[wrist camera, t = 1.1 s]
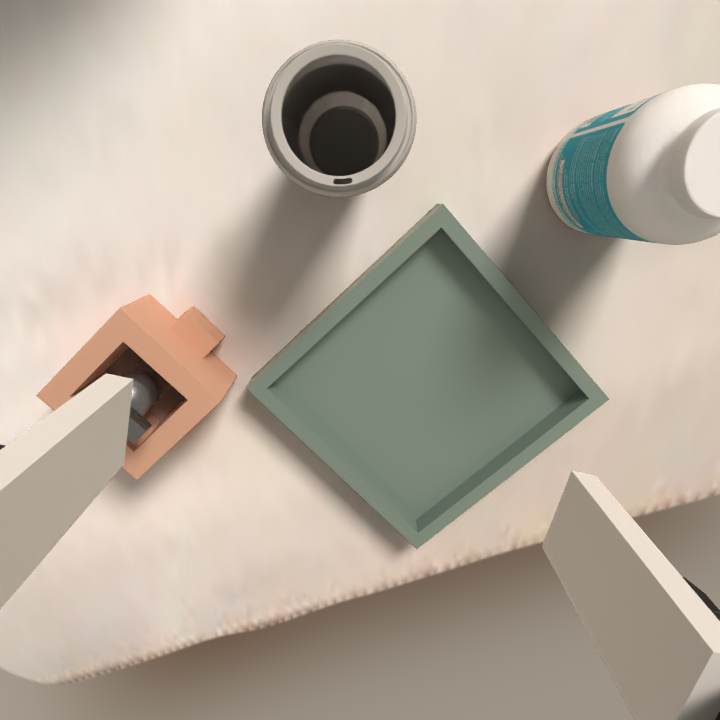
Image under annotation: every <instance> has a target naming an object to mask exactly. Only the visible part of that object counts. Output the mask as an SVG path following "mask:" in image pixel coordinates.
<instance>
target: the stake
mask: <svg viewBox="0 0 720 720" xmlns="http://www.w3.org/2000/svg"><path fill="white" fill-rule="evenodd" d="M121 377H126V378H131V379H133V388H132V397H131V406H130V415H129V424H128V433H127V439H129V440H130V441H131V442H132V443H133V444H134V443H135V442H136V441H137V440H138V439H139V438H140V437H141V436H142V435H143V434H144V433H145V432H146V431H147V430H148V429H149V428H150V427H151V426H152V424H151V423H150V422H149V421H147V420H146V419H145V418H144V417H143V415H144V414H145V413H146V412H147V411H148V410H149V409H150V408H151V407H152V406H153V405H154V404H155V403H156V402H157V401H158V400H159V399H160V398H161V397H162V396H163V395H164V394H165V393H166V391H167V390H168V389H169V388H170V387H171V386H172V385H171V384H170V383H169V382H167V381H166V380H165V379H164V378H163V377H162V376H161V375H160V374H159V373H157V372H156V371H155V370H154V369H153V368H152V367H151V366H150V365H149V364H147V363H146V362H145V361H144V360H142V361H141V362H139V363H138V364H137V365H135V366H134V367H133V368H131V369H130V370H129V371H127V372H126V373H125V374H123V375H122V376H121Z"/></svg>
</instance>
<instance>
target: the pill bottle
mask: <svg viewBox="0 0 720 720" xmlns="http://www.w3.org/2000/svg"><path fill="white" fill-rule="evenodd" d="M547 193H548V197H549V201H550V203H551V206H552V208H553V210H554V211H555V213H556V214H557V216H558V217H559V218H560V219H561V220H562V221H563V222H564V223H565V224H566V225H568V226H569V227H571V228H573V229H575V230H577V231H580V232H583V233H587V234H594V235H600V236H608V237H615V238H623V239H631V240H638V241H645V242H652V243H660V244H671V245H682V244H690V243H695V242H699V241H702V240H705V239H708V238H710V237H713V236H715V235H717V234H718V233H720V85H716V84H693V85H687V86H683V87H679V88H676V89H673V90H670V91H667V92H664V93H661V94H658V95H655V96H653V97H650V98H647V99H644V100H641V101H638V102H636V103H633V104H630V105H627V106H624V107H621V108H618V109H615V110H612V111H609V112H607V113H604V114H601V115H598V116H596V117H593V118H591V119H588V120H586V121H584V122H582V123H580V124H579V125H577V126H576V127H575V128H573V129H572V130H571V131H570V132H569V133H568V134H567V135H566V136H565V137H564V138H563V139H562V140H561V142H560V143H559V144H558V146H557V148H556V149H555V151H554V153H553V155H552V158H551V160H550V163H549V166H548V171H547Z"/></svg>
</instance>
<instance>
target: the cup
mask: <svg viewBox="0 0 720 720" xmlns="http://www.w3.org/2000/svg"><path fill="white" fill-rule="evenodd" d="M262 128H263V134H264V138H265V142H266V145H267V147H268V150H269V152H270V154H271V156H272V158H273V160H274V161H275V163H276V164H277V166H278V167H279V168H280V169H281V171H282V172H283V173H284V174H285V175H286V176H287V177H288V178H289V179H291V180H292V181H293V182H295V183H296V184H297V185H299V186H301V187H302V188H304V189H306V190H308V191H311V192H313V193H316V194H320V195H324V196H329V197H349V196H355V195H359V194H363V193H366V192H368V191H371V190H373V189H375V188H376V187H378V186H380V185H381V184H383V183H384V182H386V181H387V180H388V179H389V178H390V177H392V176H393V175H394V174H395V173H396V171H397V170H398V169H399V168H400V167H401V165H402V164H403V162H404V161H405V159H406V157H407V156H408V154H409V151H410V149H411V147H412V144H413V140H414V136H415V131H416V106H415V101H414V97H413V94H412V91H411V88H410V86H409V84H408V82H407V80H406V78H405V77H404V75H403V74H402V72H401V71H400V70H399V68H398V67H397V66H396V65H395V64H394V63H393V62H392V61H391V60H390V59H389V58H388V57H387V56H385V55H384V54H383V53H381V52H380V51H378V50H376V49H374V48H372V47H370V46H368V45H365V44H362V43H359V42H355V41H350V40H329V41H323V42H318V43H316V44H313V45H310V46H308V47H306V48H304V49H302V50H300V51H299V52H297V53H296V54H294V55H293V56H291V57H290V58H289V59H288V60H287V61H286V62H285V63H284V64H283V65H282V66H281V67H280V68H279V70H278V71H277V72H276V74H275V75H274V77H273V79H272V80H271V82H270V84H269V87H268V89H267V92H266V95H265V98H264V103H263V109H262Z"/></svg>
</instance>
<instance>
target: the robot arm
mask: <svg viewBox="0 0 720 720" xmlns="http://www.w3.org/2000/svg"><path fill="white" fill-rule="evenodd" d="M132 388H133V379H131V378H126V377H121V376H116V375H112V374H107V373H106V374H105V375H103V376H102V377H100V378H99V379H98V380H96V381H95V382H94V383H92V384H91V385H89V386H88V387H87V388H85V389H84V390H82V391H81V392H80V393H78V394H77V395H76V396H74V397H73V398H71V399H70V400H69V401H67V402H66V403H65V404H63V405H62V406H60V407H59V408H58V409H56V410H55V411H53V412H52V413H51V414H49V415H48V416H47V417H45V418H44V419H42V420H41V421H40V422H38V423H37V424H35V425H34V426H33V427H31V428H30V429H29V430H27V431H26V432H24V433H23V434H22V435H20V436H19V437H18V438H16V439H15V440H13V441H12V442H11V443H9V444H8V445H6V446H4V445H0V609H1V608H2V607H3V606H4V604H5V603H6V602H7V601H8V600H9V599H10V597H11V596H12V595H13V594H14V593H15V592H16V590H17V589H18V588H19V587H20V586H21V585H22V583H23V582H24V581H25V580H26V579H27V577H28V576H29V575H30V574H31V573H32V572H33V570H34V569H35V568H36V567H37V566H38V565H39V563H40V562H41V561H42V560H43V559H44V558H45V556H46V555H47V554H48V553H49V552H50V551H51V549H52V548H53V547H54V546H55V545H56V543H57V542H58V541H59V540H60V539H61V538H62V536H63V535H64V534H65V533H66V532H67V531H68V529H69V528H70V527H71V526H72V525H73V524H74V522H75V521H76V520H77V519H78V518H79V516H80V515H81V514H82V513H83V512H84V511H85V509H86V508H87V507H88V506H89V505H90V504H91V502H92V501H93V500H94V499H95V498H96V497H97V495H98V494H99V493H100V492H101V491H102V490H103V488H104V487H105V486H106V485H107V484H108V482H109V481H110V480H111V479H112V478H113V477H114V475H115V474H116V473H117V472H118V471H119V470H120V468H121V467H122V466H123V465H124V460H125V451H126V442H127V433H128V424H129V415H130V406H131V397H132ZM542 547H543V549H544V551H545V553H546V555H547V557H548V559H549V561H550V562H551V564H552V566H553V568H554V570H555V572H556V574H557V576H558V577H559V579H560V581H561V583H562V585H563V587H564V589H565V591H566V592H567V595H568V596H569V598H570V600H571V602H572V604H573V605H574V608H575V610H576V611H577V613H578V615H579V617H580V619H581V621H582V623H583V625H584V627H585V628H586V630H587V632H588V634H589V636H590V638H591V640H592V641H593V644H594V645H595V647H596V649H597V651H598V653H599V655H600V657H601V659H602V661H603V663H604V664H605V666H606V668H607V670H608V672H609V674H610V676H611V678H612V679H613V681H614V683H615V685H616V687H617V689H618V691H619V693H620V695H621V696H622V698H623V700H624V702H625V704H626V706H627V708H628V710H629V711H630V714H631V715H632V717H633V719H634V720H720V610H719V609H718V608H717V607H716V606H715V605H714V603H713V602H712V601H711V600H710V599H709V598H708V597H707V595H706V594H705V593H704V592H702V591H701V590H700V589H698V588H697V587H696V586H695V585H693V584H692V583H691V582H690V581H688V580H687V579H686V578H685V577H682V576H681V575H680V574H679V573H678V572H677V571H676V569H675V568H674V567H673V566H672V565H671V564H670V562H669V561H668V560H667V559H666V558H665V556H664V555H663V554H662V553H661V552H660V551H659V549H658V548H657V547H656V546H655V545H654V544H653V542H652V541H651V540H650V539H649V538H648V537H647V535H646V534H645V533H644V532H643V531H642V529H641V528H640V527H639V526H638V525H637V524H636V522H635V521H634V520H633V519H632V518H631V517H630V515H629V514H628V513H627V512H626V511H625V509H624V508H623V507H622V506H621V505H620V504H619V502H618V501H617V500H616V499H615V498H614V497H613V495H612V494H611V493H610V492H609V491H608V490H607V488H606V487H605V486H604V485H603V484H602V482H601V481H600V480H599V479H598V478H597V477H596V476H595V475H590V474H585V473H580V472H576V471H572V472H571V474H570V477H569V479H568V482H567V484H566V487H565V489H564V492H563V495H562V497H561V500H560V502H559V505H558V507H557V510H556V512H555V515H554V517H553V520H552V523H551V525H550V528H549V530H548V533H547V535H546V538H545V540H544V543H543V546H542Z"/></svg>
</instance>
